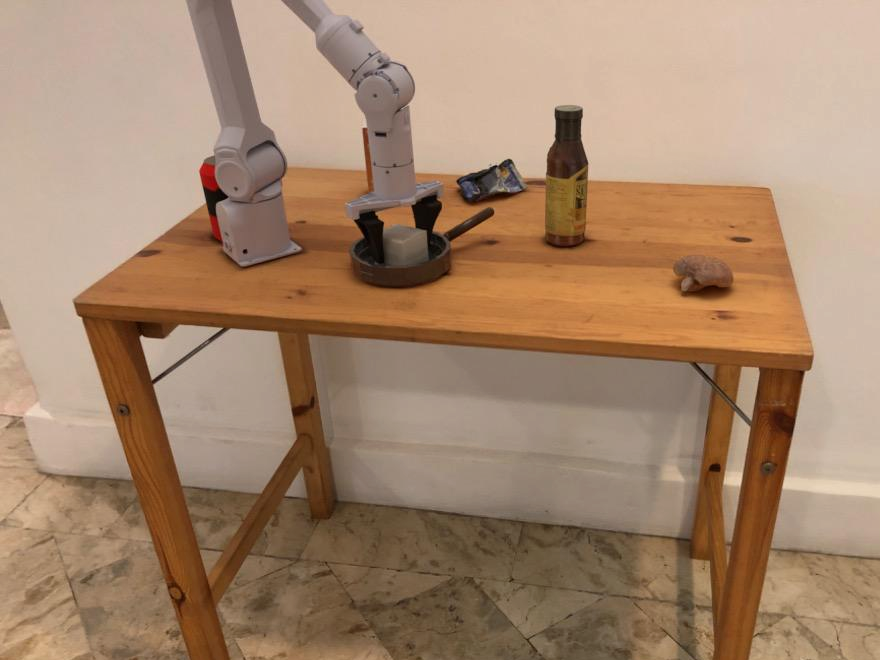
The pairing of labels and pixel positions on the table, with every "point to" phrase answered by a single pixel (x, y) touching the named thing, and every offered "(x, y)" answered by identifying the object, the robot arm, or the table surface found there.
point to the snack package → (491, 181)
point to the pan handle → (469, 224)
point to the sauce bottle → (566, 180)
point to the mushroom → (702, 272)
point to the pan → (401, 274)
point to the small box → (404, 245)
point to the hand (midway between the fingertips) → (401, 255)
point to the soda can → (212, 192)
